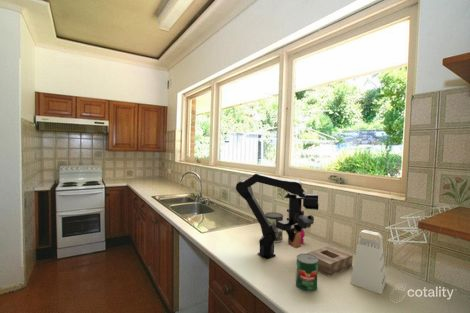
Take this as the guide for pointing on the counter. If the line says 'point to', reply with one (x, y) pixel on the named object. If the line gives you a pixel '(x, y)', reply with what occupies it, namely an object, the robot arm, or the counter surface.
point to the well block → (332, 260)
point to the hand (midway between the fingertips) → (294, 241)
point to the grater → (369, 264)
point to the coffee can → (274, 218)
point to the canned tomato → (306, 272)
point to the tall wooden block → (295, 240)
